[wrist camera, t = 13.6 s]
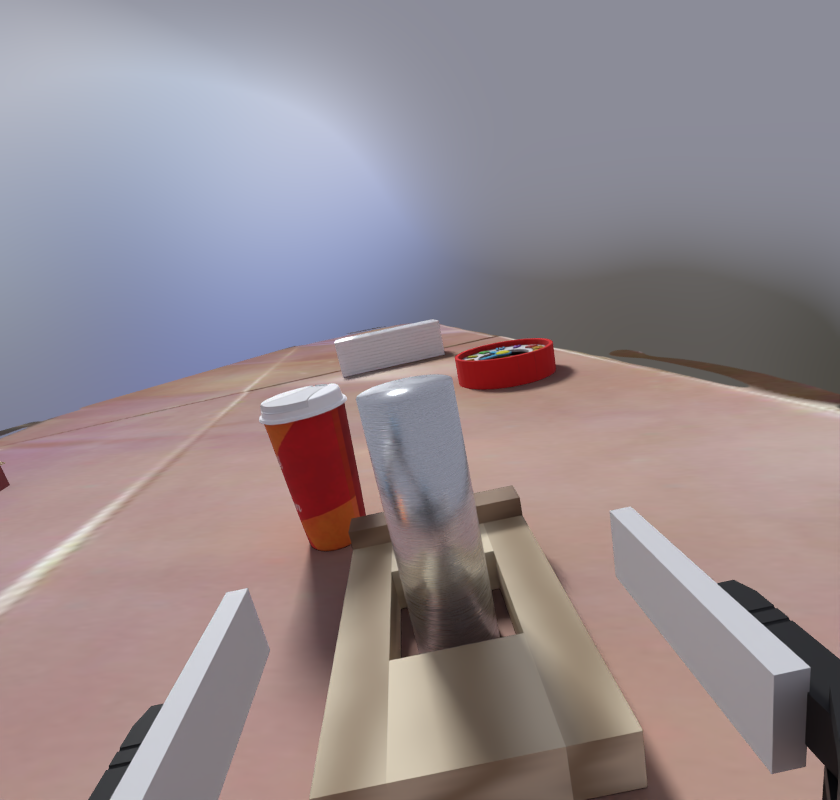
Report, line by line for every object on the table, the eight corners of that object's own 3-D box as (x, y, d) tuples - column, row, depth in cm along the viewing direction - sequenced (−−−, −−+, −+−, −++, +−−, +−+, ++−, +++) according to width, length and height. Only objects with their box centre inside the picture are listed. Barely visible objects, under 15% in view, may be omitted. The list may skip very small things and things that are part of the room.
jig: (328, 852, 17) (298, 770, 16) (364, 566, 34) (351, 518, 33) (647, 787, 17) (640, 700, 16) (520, 534, 34) (512, 485, 33)
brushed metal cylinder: (420, 685, 23) (350, 410, 19) (416, 617, 28) (360, 387, 24) (509, 666, 23) (458, 388, 19) (490, 602, 28) (446, 369, 24)
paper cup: (329, 509, 45) (294, 385, 41) (391, 512, 42) (359, 378, 38) (280, 555, 38) (233, 411, 35) (350, 564, 35) (305, 405, 31)
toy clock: (574, 339, 81) (489, 364, 74) (577, 368, 82) (494, 396, 75) (512, 337, 99) (438, 357, 92) (515, 361, 100) (443, 383, 93)
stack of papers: (343, 377, 126) (334, 342, 124) (344, 372, 136) (335, 339, 134) (445, 355, 129) (438, 320, 127) (438, 351, 140) (432, 319, 137)
